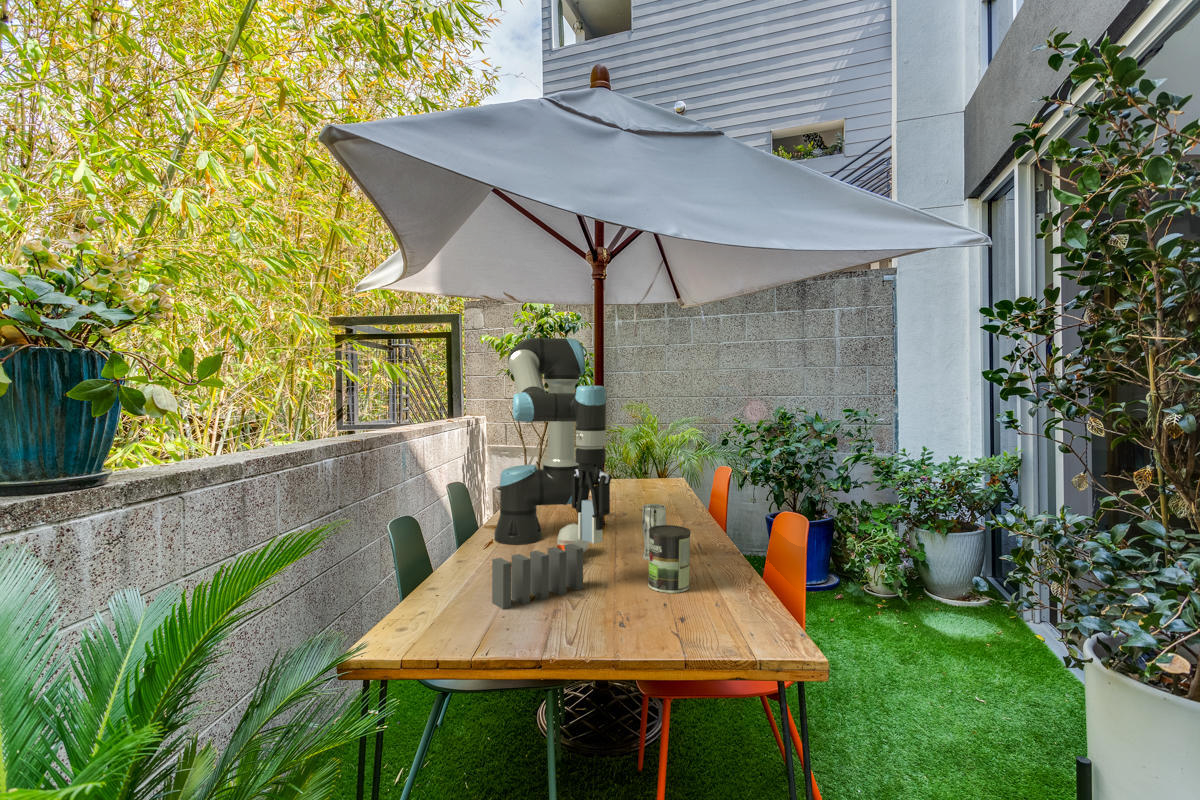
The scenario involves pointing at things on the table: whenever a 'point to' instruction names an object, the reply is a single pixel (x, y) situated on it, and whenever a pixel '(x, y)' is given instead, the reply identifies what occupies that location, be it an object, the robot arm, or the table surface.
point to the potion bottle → (570, 537)
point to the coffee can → (669, 558)
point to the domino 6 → (587, 520)
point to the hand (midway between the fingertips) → (590, 539)
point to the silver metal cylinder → (651, 522)
